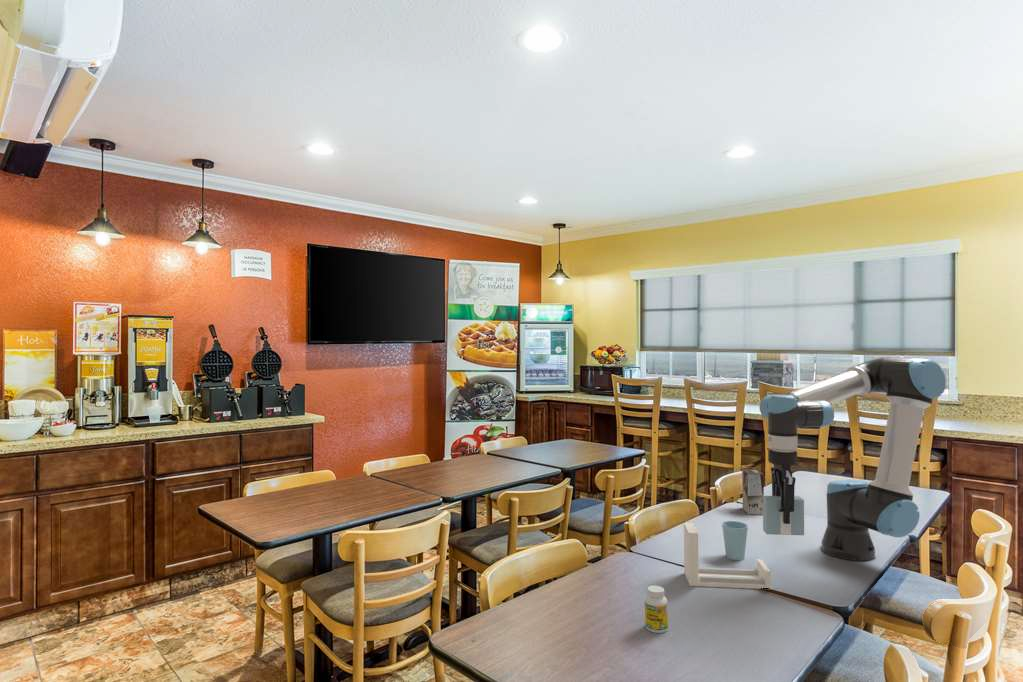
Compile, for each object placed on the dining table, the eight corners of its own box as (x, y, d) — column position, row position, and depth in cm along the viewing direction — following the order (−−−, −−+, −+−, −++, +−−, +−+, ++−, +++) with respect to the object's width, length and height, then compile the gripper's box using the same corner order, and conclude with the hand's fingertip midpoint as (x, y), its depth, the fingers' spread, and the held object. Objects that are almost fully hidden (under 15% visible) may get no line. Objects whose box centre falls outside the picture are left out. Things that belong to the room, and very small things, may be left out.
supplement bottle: (669, 624, 144) (668, 585, 144) (666, 635, 139) (666, 595, 139) (646, 621, 146) (646, 582, 146) (643, 631, 141) (643, 591, 141)
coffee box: (764, 515, 230) (764, 474, 230) (747, 514, 231) (747, 473, 231) (758, 508, 239) (757, 468, 239) (741, 507, 240) (741, 468, 240)
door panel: (799, 531, 168) (799, 496, 168) (804, 535, 164) (803, 499, 164) (763, 530, 169) (762, 495, 169) (766, 534, 166) (766, 499, 166)
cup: (753, 559, 185) (753, 526, 185) (735, 563, 182) (734, 529, 182) (735, 551, 192) (735, 519, 192) (717, 555, 189) (716, 523, 189)
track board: (761, 576, 172) (761, 525, 172) (771, 589, 163) (770, 535, 163) (684, 573, 175) (683, 522, 175) (689, 585, 166) (689, 532, 166)
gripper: (760, 444, 175) (760, 522, 175) (778, 455, 159) (778, 541, 159) (786, 444, 174) (786, 523, 174) (807, 455, 158) (807, 542, 158)
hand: (782, 531), depth 167 cm, fingers closed on door panel, 3 cm apart
